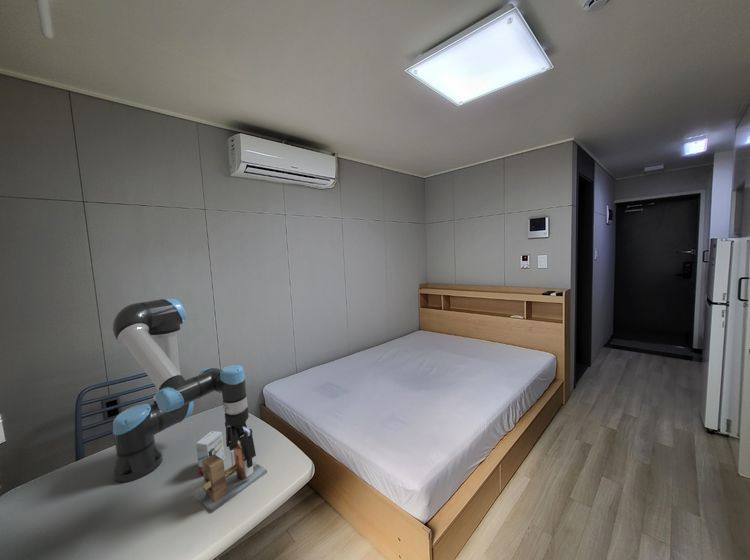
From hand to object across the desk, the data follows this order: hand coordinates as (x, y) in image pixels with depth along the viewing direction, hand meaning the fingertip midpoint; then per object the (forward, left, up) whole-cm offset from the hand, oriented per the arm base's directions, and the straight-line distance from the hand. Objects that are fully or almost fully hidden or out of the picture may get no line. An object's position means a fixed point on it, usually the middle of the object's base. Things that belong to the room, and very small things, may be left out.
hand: (242, 470), depth 108 cm
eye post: (0, -4, -3) cm, 5 cm away
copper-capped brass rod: (0, -5, -2) cm, 6 cm away
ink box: (-17, -3, -3) cm, 18 cm away
